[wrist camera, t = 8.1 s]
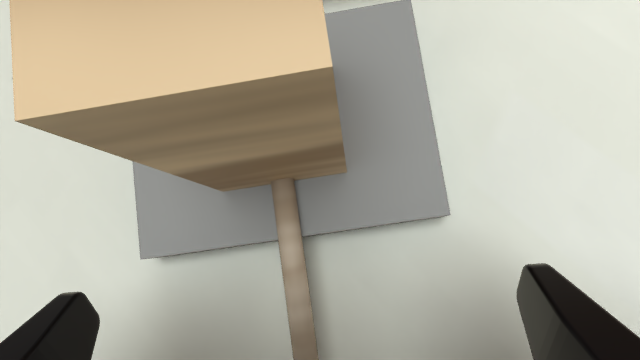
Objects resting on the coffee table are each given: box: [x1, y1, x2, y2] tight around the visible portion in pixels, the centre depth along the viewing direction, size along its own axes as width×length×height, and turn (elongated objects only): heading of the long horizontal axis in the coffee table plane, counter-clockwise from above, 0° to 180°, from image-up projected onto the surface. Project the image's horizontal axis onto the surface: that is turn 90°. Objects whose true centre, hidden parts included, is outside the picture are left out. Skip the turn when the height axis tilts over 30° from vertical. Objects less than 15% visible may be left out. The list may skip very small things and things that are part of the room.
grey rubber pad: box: [133, 0, 450, 259], centre depth 16 cm, size 8×11×2 cm
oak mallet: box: [10, 0, 347, 360], centre depth 10 cm, size 10×4×10 cm, turn 8°
